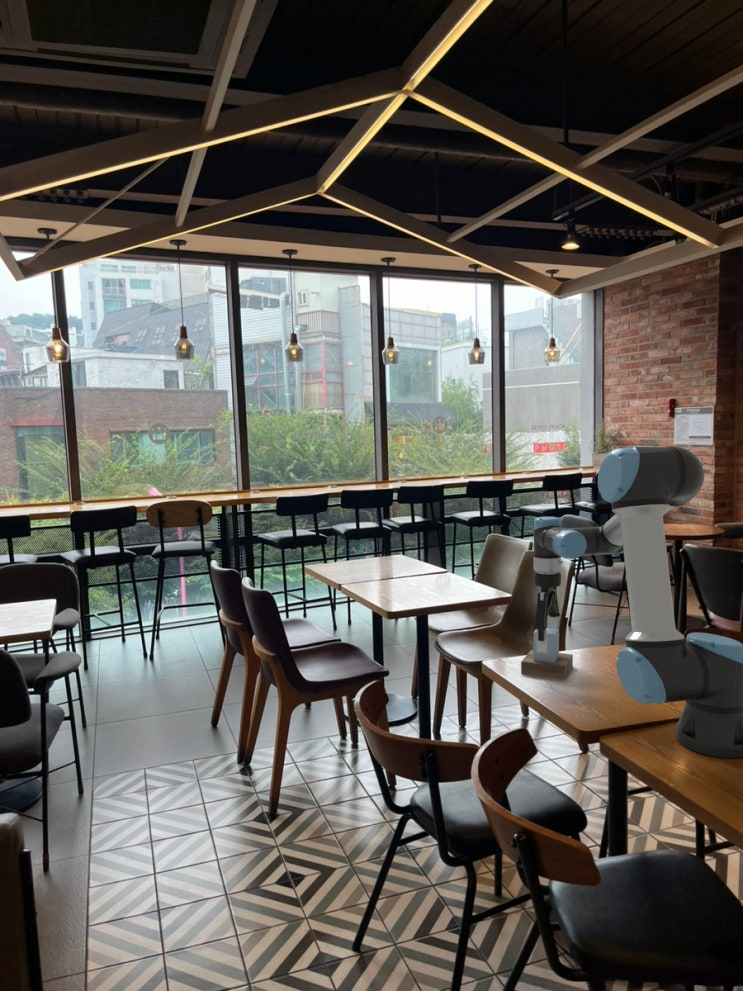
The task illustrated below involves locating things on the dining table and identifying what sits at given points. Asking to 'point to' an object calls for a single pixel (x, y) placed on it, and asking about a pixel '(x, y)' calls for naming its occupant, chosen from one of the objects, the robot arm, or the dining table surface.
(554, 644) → the slate block
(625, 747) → the dining table surface
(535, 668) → the walnut block
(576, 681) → the dining table surface
